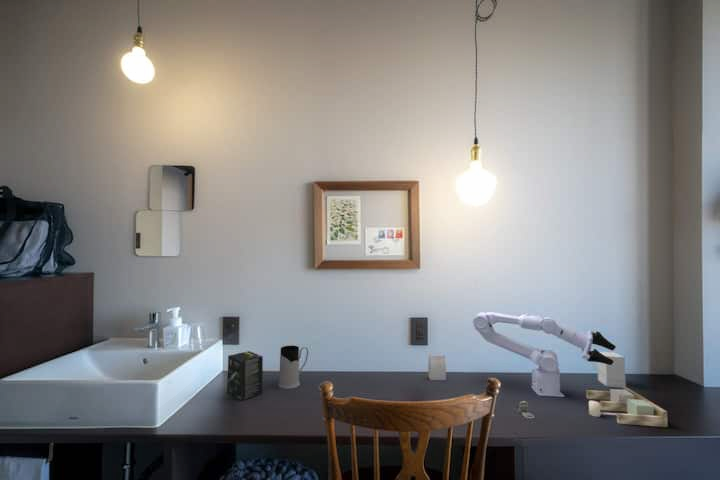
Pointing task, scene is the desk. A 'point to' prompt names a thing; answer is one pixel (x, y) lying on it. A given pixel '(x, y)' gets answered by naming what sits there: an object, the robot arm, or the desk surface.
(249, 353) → the tampon box
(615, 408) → the lane rack
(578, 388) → the desk surface
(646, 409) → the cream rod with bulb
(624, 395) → the grey block
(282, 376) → the grey mug
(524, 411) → the strap clip
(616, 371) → the supplement box
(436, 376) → the beige box
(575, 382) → the desk surface
